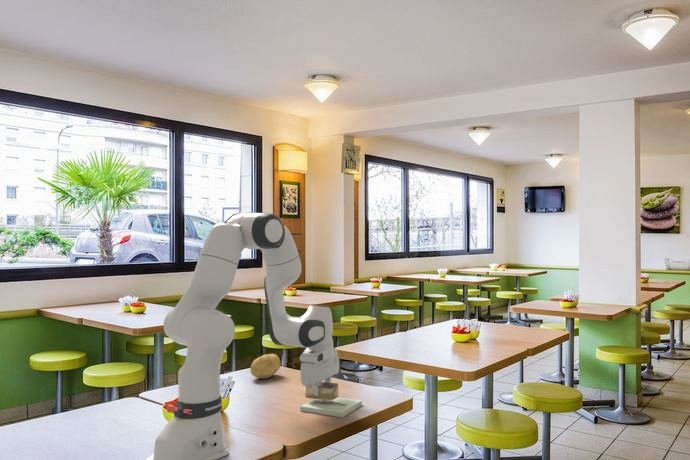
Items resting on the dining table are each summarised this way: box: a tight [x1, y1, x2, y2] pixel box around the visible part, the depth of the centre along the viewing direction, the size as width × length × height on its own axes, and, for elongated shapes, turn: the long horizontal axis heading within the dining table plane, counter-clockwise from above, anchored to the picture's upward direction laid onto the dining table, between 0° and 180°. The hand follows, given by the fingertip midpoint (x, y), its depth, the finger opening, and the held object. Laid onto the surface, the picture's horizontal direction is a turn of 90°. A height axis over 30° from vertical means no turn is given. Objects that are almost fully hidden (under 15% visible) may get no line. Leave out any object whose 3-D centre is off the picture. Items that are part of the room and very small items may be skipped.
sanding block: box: [304, 381, 339, 401], centre depth 189 cm, size 5×10×4 cm, turn 62°
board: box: [299, 396, 363, 418], centre depth 187 cm, size 14×16×2 cm
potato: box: [249, 353, 281, 379], centre depth 229 cm, size 10×14×10 cm
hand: (321, 392), depth 189 cm, fingers closed on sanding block, 5 cm apart
